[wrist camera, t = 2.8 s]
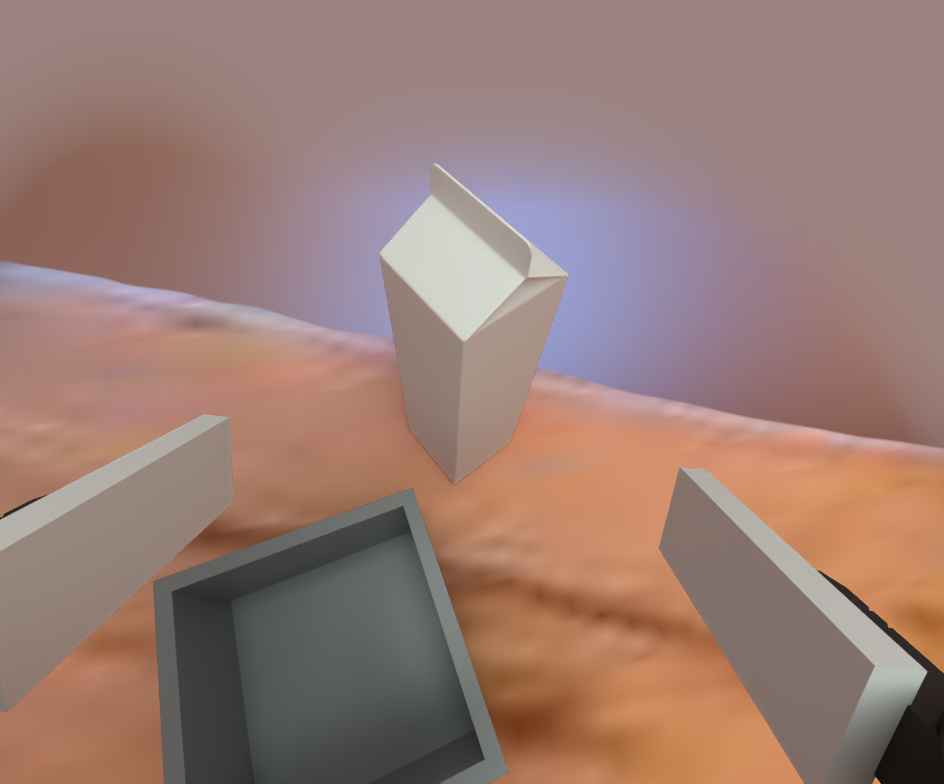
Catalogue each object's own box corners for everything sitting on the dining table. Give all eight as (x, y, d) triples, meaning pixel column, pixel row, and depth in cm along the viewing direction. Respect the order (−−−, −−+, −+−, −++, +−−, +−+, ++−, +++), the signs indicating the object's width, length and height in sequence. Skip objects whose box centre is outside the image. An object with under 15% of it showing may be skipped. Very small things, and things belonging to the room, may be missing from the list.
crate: (223, 594, 29) (153, 581, 22) (419, 519, 32) (412, 487, 25) (254, 857, 23) (173, 953, 16) (491, 735, 26) (508, 772, 19)
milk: (454, 486, 34) (465, 290, 14) (407, 429, 36) (362, 189, 16) (513, 440, 36) (593, 214, 16) (466, 388, 38) (487, 133, 18)
